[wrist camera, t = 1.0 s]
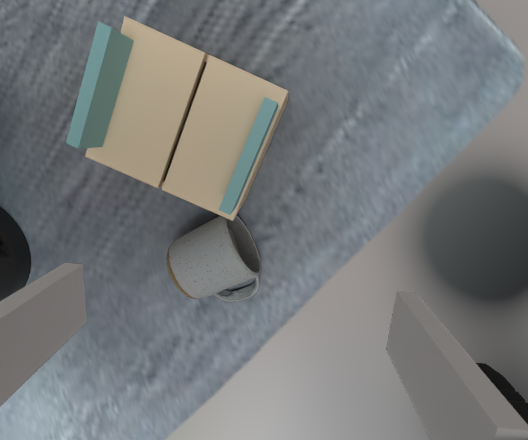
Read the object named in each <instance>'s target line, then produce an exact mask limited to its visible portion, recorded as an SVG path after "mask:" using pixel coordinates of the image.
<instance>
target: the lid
mask: <svg viewBox="0 0 528 440" xmlns="http://www.w3.org/2000/svg"><path fill="white" fill-rule="evenodd" d="M287 93H288V90H285V89H283V88H281V87H279V86H277V85H274V84H272V83H270V82H268V81H266V80H263V79H261V78H259V77H257V76H255V75H253V74H250V73H248V72H246V71H244V70H242V69H239V68H237V67H235V66H233V65H231V64H228V63H226V62H224V61H222V60H220V59H217V58H215V57H213V56H211V55H210V56H209V58H208V61H207V64H206V67H205V70H204V72H203V75H202V78H201V81H200V84H199V87H198V89H197V92H196V95H195V98H194V101H193V103H192V106H191V109H190V112H189V115H188V118H187V120H186V123H185V126H184V129H183V132H182V134H181V137H180V140H179V143H178V146H177V148H176V151H175V154H174V157H173V160H172V163H171V165H170V168H169V171H168V174H167V177H166V179H165V182H164V185H163V188H162V190H163V191H165V192H168V193H170V194H172V195H175V196H177V197H179V198H181V199H184V200H186V201H188V202H191V203H193V204H195V205H198V206H200V207H202V208H204V209H207V210H209V211H211V212H214V213H216V214H218V215H220V216H223V217H225V218H227V219H230V220H232V221H233V220H234V218H235V216H236V213H237V211H238V209H239V206H240V204H241V202H242V199H243V197H244V195H245V192H246V190H247V187H248V185H249V183H250V180H251V178H252V176H253V173H254V171H255V169H256V166H257V164H258V162H259V159H260V157H261V155H262V152H263V150H264V147H265V145H266V143H267V140H268V138H269V136H270V133H271V131H272V129H273V126H274V124H275V122H276V119H277V117H278V115H279V112H280V110H281V107H282V105H283V103H284V100H285V98H286V96H287Z"/></svg>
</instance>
